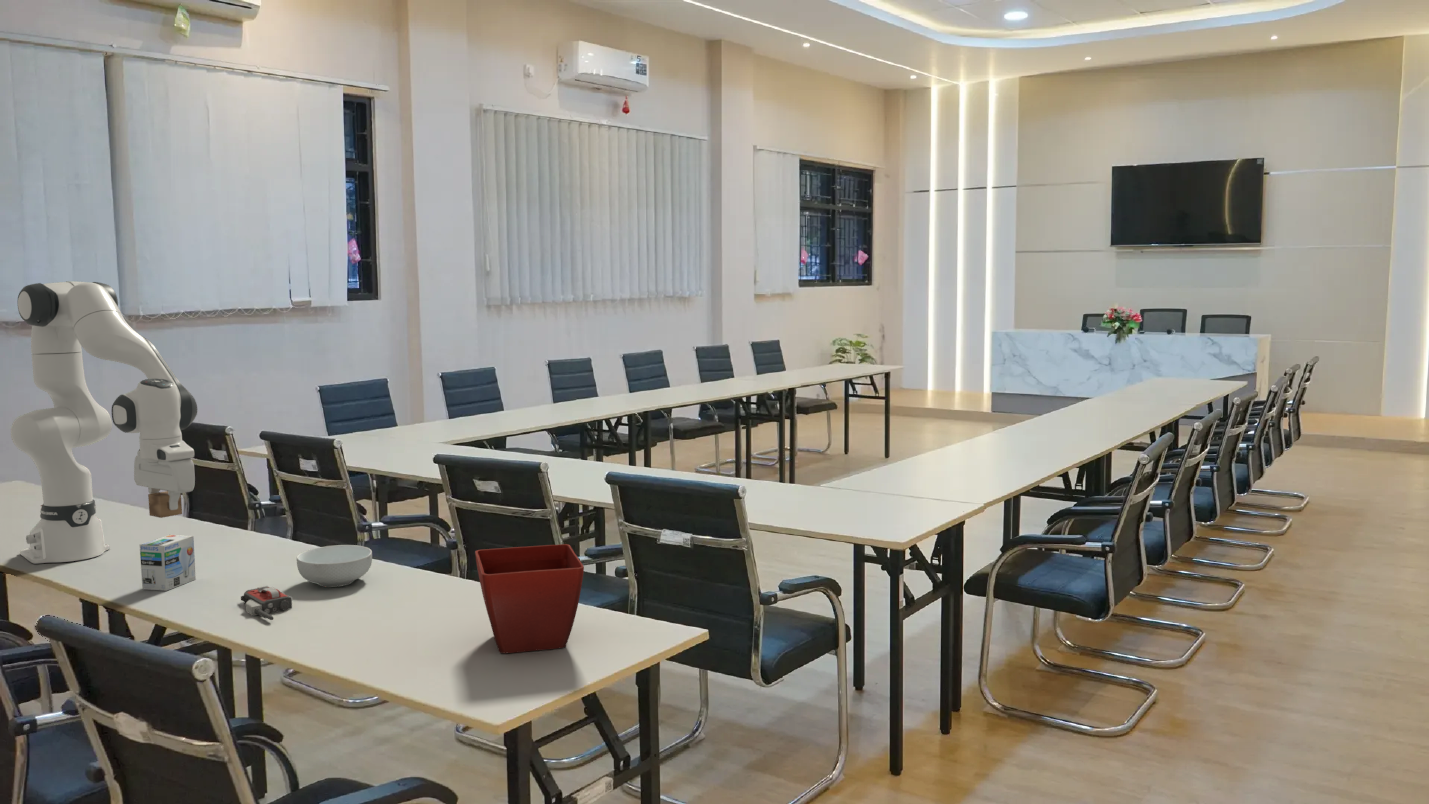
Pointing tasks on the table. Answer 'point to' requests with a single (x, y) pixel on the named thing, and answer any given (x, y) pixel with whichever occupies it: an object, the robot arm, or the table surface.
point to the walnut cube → (162, 505)
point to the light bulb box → (167, 562)
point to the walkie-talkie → (266, 601)
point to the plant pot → (530, 595)
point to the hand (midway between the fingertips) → (165, 507)
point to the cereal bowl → (334, 564)
